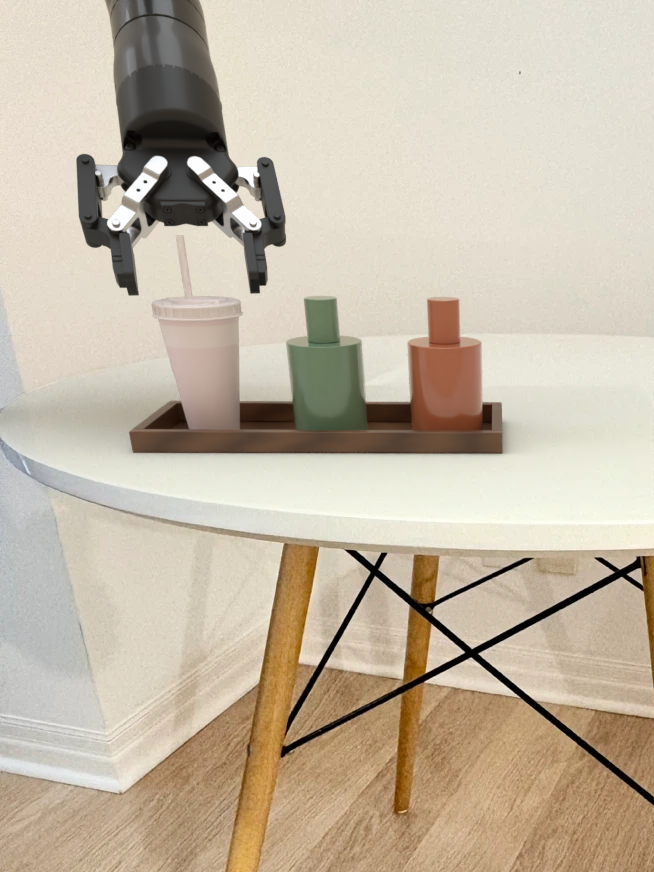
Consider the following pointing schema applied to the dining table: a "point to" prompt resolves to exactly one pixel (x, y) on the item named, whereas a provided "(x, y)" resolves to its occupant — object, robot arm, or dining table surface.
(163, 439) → the tray
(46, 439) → the dining table surface
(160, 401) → the dining table surface
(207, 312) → the smoothie
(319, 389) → the ceramic bottles
